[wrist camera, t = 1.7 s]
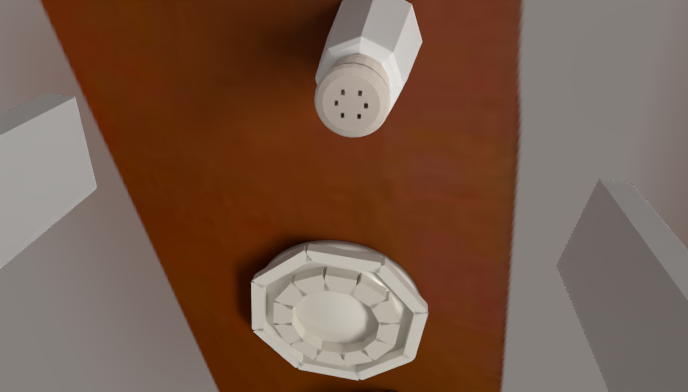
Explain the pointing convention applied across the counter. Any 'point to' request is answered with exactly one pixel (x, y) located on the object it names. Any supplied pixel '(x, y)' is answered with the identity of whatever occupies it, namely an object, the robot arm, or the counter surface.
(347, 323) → the dish
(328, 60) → the pepper shaker
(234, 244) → the counter surface
